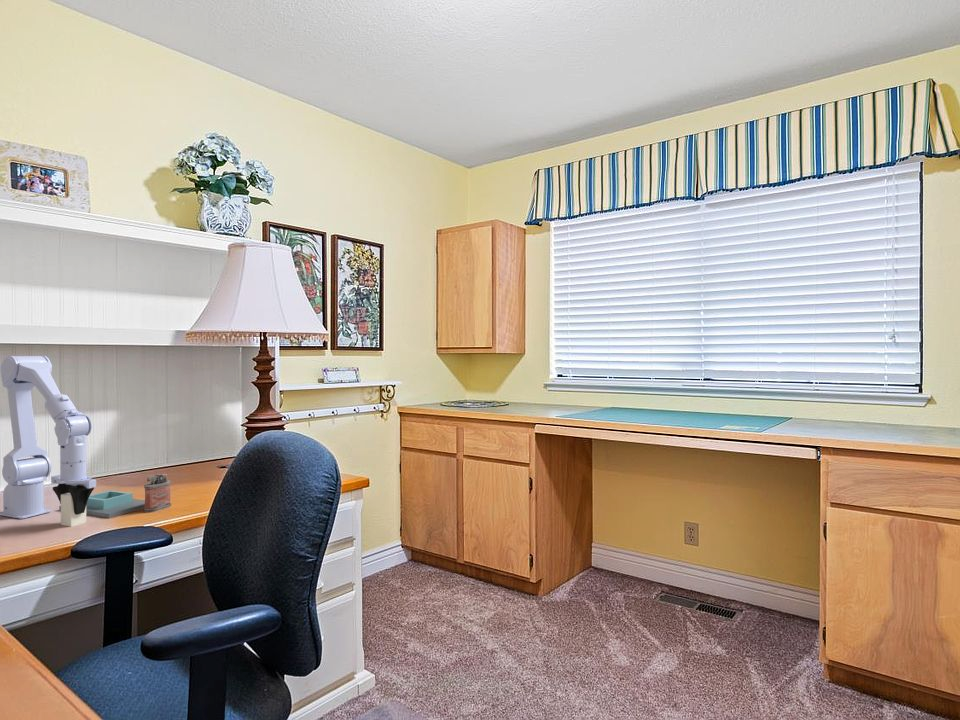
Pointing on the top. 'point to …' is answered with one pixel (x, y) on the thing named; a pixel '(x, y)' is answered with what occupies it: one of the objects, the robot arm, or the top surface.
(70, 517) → the cream block
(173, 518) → the top surface
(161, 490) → the lighter
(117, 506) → the organizer
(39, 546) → the top surface
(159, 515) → the top surface
